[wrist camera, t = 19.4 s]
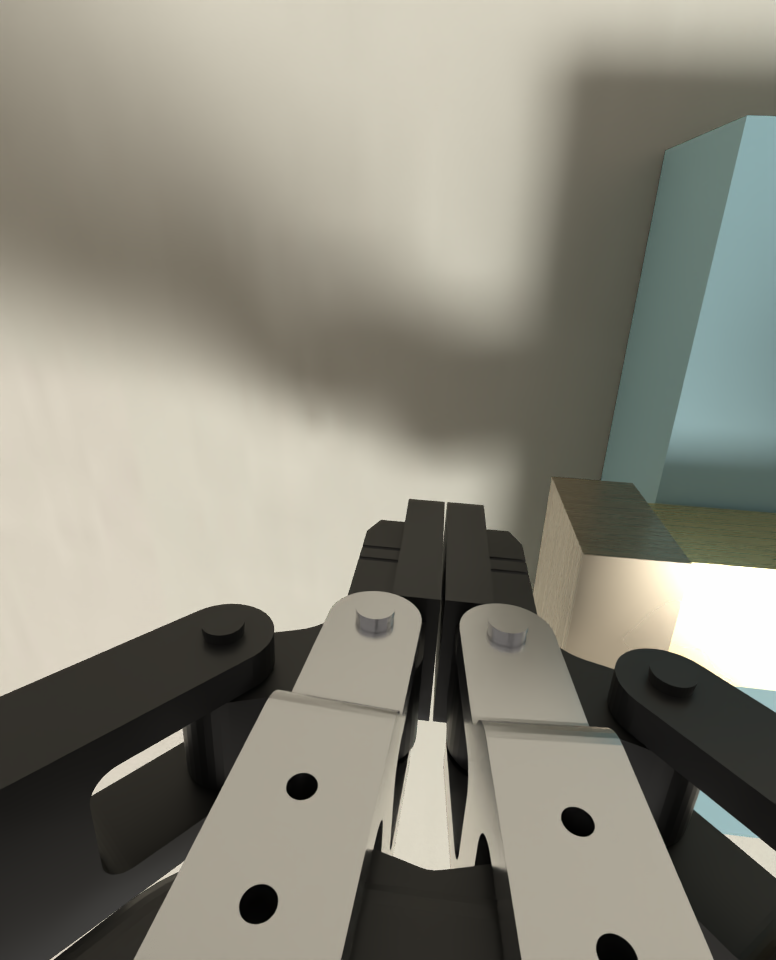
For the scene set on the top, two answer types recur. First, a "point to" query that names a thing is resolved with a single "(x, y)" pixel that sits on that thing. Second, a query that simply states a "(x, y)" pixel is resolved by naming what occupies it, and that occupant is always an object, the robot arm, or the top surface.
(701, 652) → the block hammer
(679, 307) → the dock
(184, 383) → the top surface
